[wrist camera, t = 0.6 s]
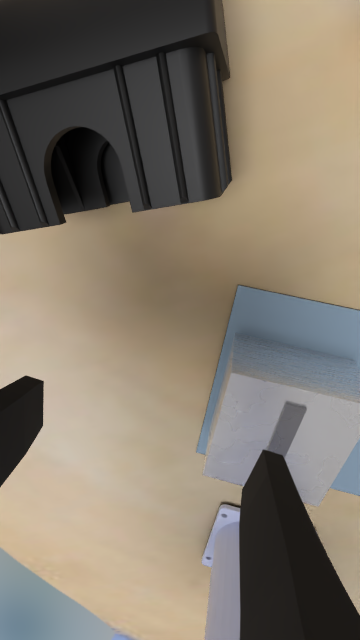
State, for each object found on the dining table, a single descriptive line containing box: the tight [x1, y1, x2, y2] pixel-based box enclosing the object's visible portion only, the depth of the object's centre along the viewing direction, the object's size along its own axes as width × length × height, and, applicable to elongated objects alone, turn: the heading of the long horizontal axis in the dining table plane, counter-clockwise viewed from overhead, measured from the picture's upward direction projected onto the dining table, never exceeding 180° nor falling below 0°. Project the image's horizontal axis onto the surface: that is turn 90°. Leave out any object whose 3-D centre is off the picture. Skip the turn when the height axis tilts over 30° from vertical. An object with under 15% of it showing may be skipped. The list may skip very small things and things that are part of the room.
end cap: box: [0, 0, 232, 234], centre depth 12 cm, size 10×7×7 cm
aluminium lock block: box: [203, 333, 360, 506], centre depth 19 cm, size 8×7×4 cm
